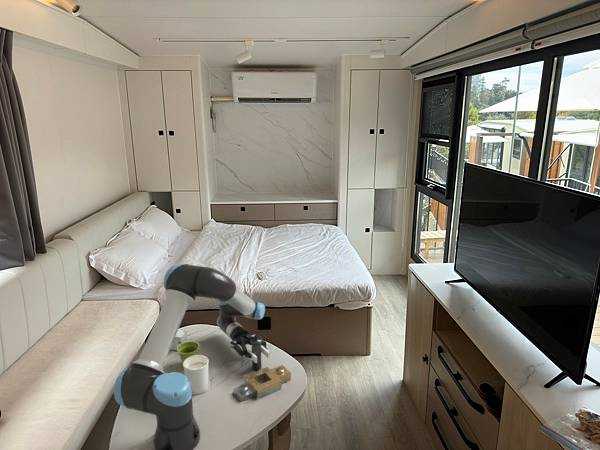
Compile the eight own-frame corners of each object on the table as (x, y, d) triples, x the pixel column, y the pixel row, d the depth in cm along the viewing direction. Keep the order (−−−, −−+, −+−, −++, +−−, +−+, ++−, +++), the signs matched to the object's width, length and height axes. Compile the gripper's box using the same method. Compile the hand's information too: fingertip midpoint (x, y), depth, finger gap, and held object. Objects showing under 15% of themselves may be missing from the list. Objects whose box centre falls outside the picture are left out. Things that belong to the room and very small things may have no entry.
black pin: (254, 373, 177) (253, 344, 173) (248, 367, 181) (247, 338, 178) (265, 368, 180) (264, 340, 176) (259, 363, 184) (258, 334, 180)
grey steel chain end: (243, 405, 159) (243, 398, 158) (230, 389, 167) (230, 383, 166) (281, 388, 168) (281, 382, 167) (267, 374, 177) (267, 368, 176)
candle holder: (180, 391, 166) (177, 365, 163) (196, 377, 174) (194, 352, 171) (199, 399, 162) (197, 372, 158) (215, 384, 170) (213, 359, 167)
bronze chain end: (257, 399, 162) (257, 389, 161) (244, 383, 170) (243, 375, 169) (293, 382, 171) (293, 374, 170) (279, 369, 180) (279, 360, 179)
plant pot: (197, 371, 179) (196, 353, 176) (175, 370, 179) (174, 353, 176) (203, 358, 188) (201, 341, 185) (182, 358, 188) (180, 341, 185)
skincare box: (170, 349, 194) (168, 335, 192) (176, 342, 200) (175, 329, 198) (182, 351, 193) (180, 337, 191) (188, 344, 198) (187, 330, 196)
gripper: (255, 334, 199) (281, 358, 181) (219, 347, 189) (243, 373, 170) (254, 320, 197) (281, 342, 178) (218, 332, 187) (242, 357, 168)
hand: (262, 357), depth 174 cm, fingers open, 5 cm apart
